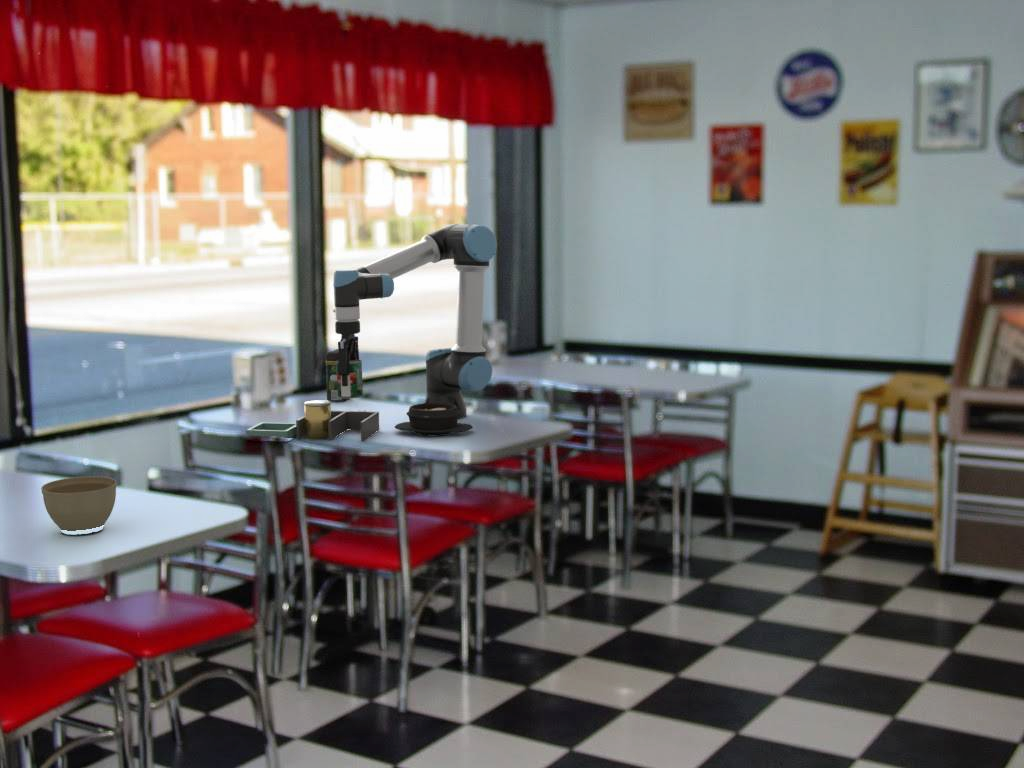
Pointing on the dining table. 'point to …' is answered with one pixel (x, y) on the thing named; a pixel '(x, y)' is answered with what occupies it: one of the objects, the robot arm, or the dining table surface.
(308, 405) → the ochre can
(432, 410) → the casserole
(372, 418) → the clip rack
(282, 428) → the tray
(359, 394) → the canned tomato
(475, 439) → the dining table surface
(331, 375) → the coffee jar
